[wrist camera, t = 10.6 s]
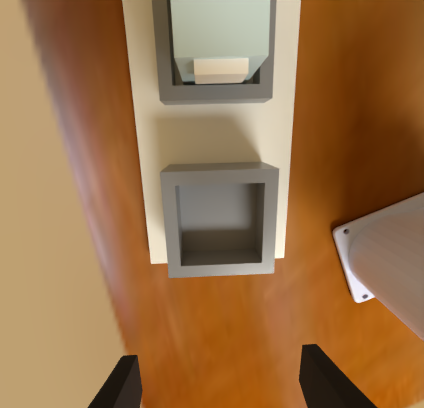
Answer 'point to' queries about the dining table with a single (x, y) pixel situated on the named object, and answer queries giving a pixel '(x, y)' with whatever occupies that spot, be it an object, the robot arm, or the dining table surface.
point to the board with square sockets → (213, 149)
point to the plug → (220, 39)
